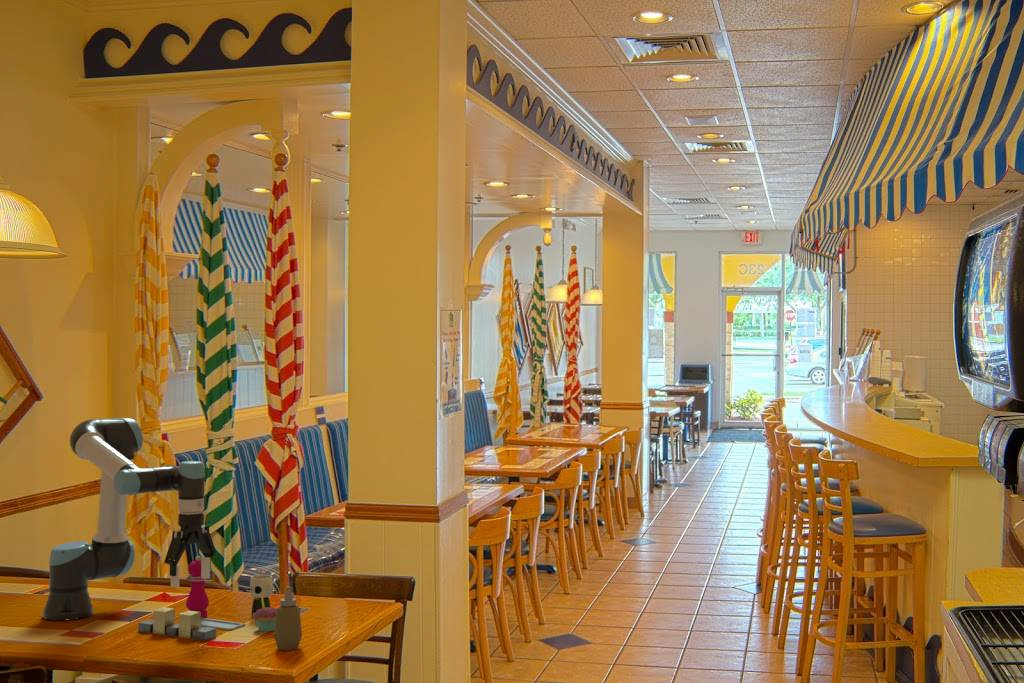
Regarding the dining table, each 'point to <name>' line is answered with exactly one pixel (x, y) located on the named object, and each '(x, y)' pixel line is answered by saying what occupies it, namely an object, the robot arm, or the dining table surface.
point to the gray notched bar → (173, 630)
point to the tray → (220, 624)
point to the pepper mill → (197, 589)
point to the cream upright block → (163, 620)
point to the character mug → (261, 591)
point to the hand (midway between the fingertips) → (190, 582)
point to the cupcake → (265, 617)
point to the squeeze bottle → (288, 623)
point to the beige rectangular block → (189, 623)
